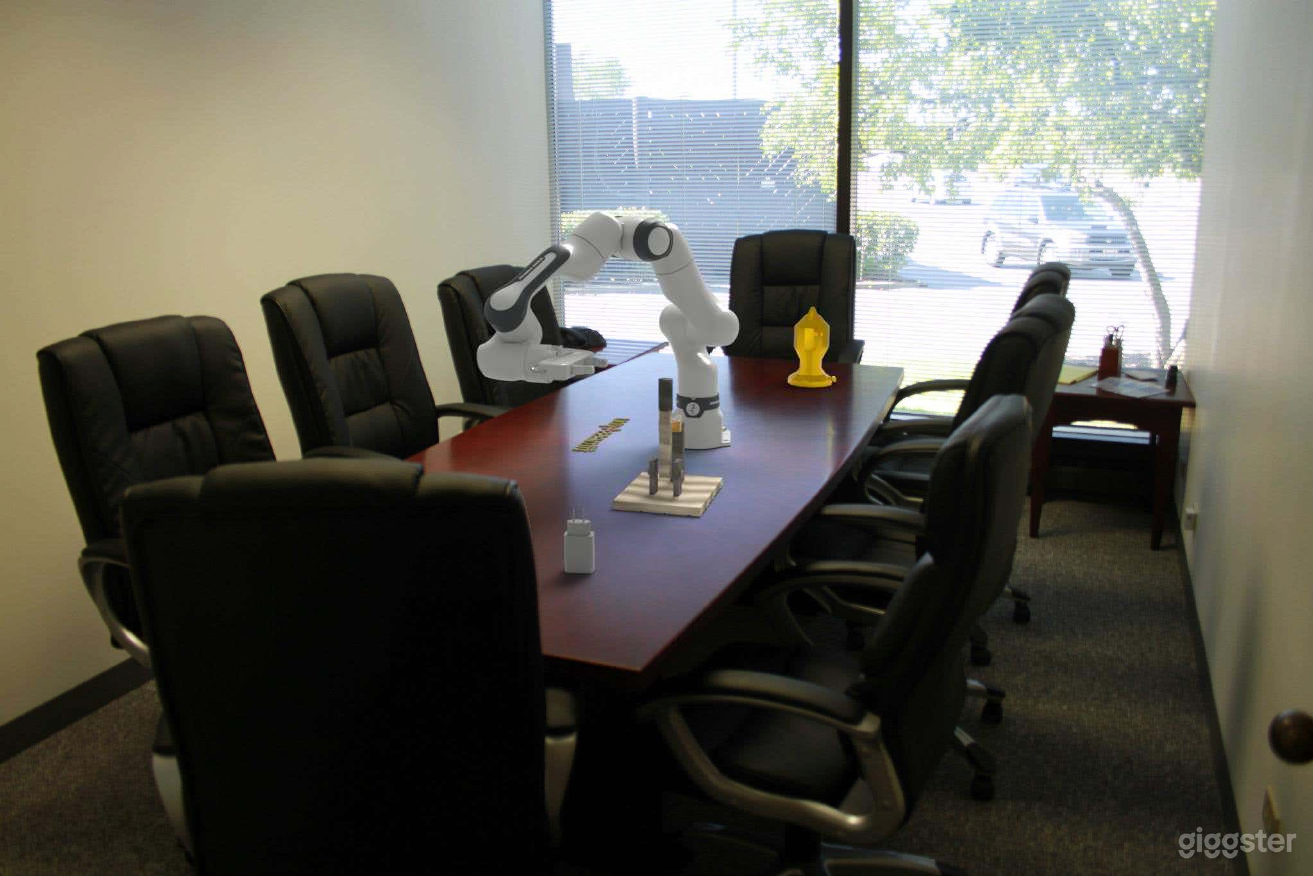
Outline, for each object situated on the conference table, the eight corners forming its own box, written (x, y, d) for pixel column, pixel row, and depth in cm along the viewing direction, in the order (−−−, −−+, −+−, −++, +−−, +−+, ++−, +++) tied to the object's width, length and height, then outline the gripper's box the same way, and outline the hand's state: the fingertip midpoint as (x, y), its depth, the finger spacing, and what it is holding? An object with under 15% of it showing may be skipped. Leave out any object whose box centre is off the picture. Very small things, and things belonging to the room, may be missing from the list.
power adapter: (567, 566, 185) (565, 505, 183) (595, 567, 185) (594, 506, 182) (564, 572, 182) (562, 511, 180) (592, 573, 182) (591, 512, 179)
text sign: (565, 452, 268) (592, 454, 266) (565, 449, 268) (592, 451, 266) (610, 419, 305) (635, 421, 303) (610, 417, 305) (635, 418, 303)
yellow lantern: (831, 376, 374) (834, 303, 367) (839, 389, 350) (843, 310, 344) (785, 376, 375) (787, 303, 368) (790, 388, 351) (793, 310, 344)
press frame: (642, 479, 241) (642, 415, 237) (722, 485, 236) (723, 420, 232) (613, 509, 219) (612, 438, 215) (700, 516, 213) (701, 444, 210)
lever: (660, 474, 224) (660, 377, 218) (674, 475, 223) (674, 378, 218) (656, 478, 221) (656, 380, 215) (670, 479, 220) (670, 380, 215)
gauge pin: (669, 421, 232) (669, 411, 232) (689, 422, 231) (689, 412, 230) (658, 430, 223) (658, 420, 223) (679, 432, 222) (679, 421, 221)
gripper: (525, 356, 216) (584, 359, 212) (559, 344, 235) (614, 346, 231) (526, 385, 217) (585, 388, 214) (559, 369, 237) (614, 372, 233)
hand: (600, 366), depth 223 cm, fingers open, 8 cm apart
